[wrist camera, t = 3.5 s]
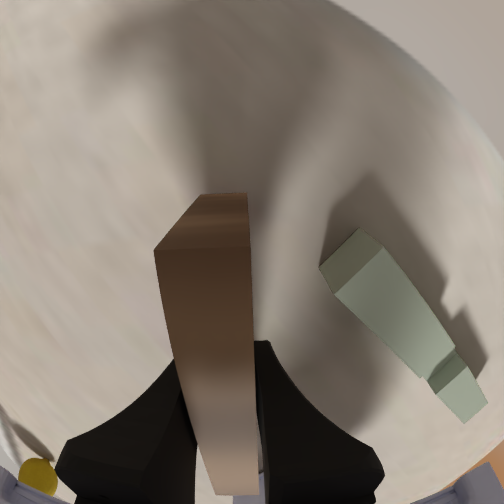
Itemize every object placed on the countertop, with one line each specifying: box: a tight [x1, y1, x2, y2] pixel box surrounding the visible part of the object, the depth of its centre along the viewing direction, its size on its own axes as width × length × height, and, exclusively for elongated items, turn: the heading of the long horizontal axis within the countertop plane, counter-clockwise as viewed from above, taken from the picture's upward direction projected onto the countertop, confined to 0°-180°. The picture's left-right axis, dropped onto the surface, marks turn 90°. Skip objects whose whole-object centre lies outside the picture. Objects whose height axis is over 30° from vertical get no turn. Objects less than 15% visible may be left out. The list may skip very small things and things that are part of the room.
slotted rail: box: [319, 227, 488, 424], centre depth 16 cm, size 3×22×3 cm, turn 47°
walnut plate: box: [154, 193, 259, 495], centre depth 11 cm, size 12×2×7 cm, turn 2°
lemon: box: [18, 458, 58, 496], centre depth 21 cm, size 6×6×8 cm
